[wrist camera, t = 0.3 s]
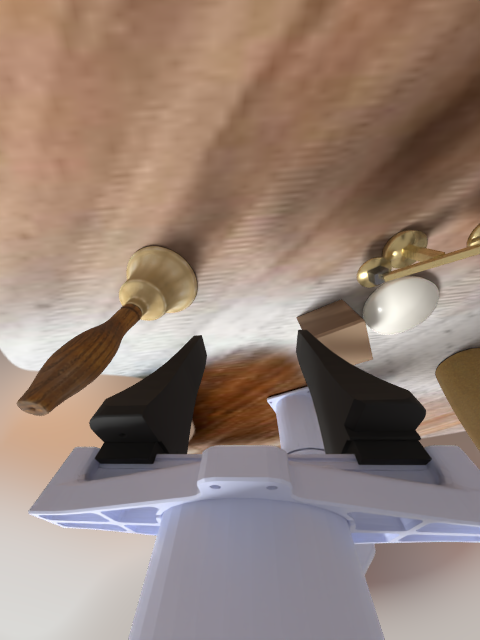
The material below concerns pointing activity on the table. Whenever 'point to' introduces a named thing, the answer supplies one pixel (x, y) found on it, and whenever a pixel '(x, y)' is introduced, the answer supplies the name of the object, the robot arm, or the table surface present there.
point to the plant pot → (463, 389)
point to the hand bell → (113, 327)
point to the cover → (339, 331)
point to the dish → (400, 305)
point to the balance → (411, 257)
